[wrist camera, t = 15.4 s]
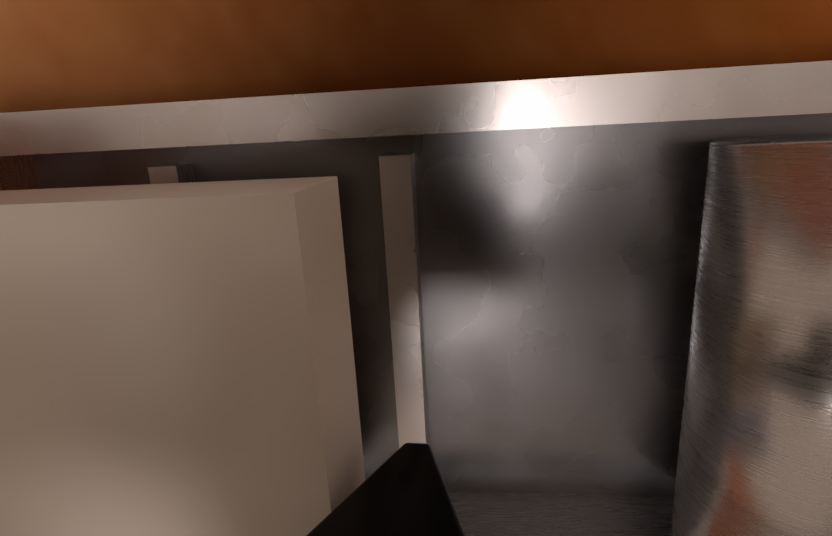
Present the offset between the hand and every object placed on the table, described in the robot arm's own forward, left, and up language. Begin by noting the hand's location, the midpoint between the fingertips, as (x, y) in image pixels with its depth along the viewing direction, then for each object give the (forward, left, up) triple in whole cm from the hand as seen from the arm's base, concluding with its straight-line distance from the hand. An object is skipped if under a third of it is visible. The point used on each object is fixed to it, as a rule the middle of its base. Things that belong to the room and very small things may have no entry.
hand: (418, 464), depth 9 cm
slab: (+6, 0, 0) cm, 6 cm away
